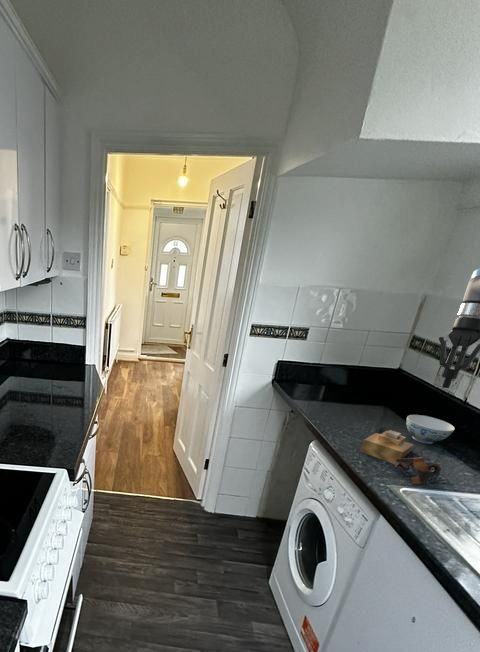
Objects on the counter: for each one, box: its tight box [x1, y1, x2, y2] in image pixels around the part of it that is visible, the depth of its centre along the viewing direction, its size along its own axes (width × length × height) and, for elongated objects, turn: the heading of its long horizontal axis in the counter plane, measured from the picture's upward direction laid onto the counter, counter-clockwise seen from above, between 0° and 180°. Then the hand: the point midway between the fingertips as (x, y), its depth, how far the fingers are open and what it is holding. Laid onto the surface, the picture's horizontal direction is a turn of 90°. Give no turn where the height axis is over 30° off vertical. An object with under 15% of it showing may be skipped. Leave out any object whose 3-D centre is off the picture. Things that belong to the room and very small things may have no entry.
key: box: [385, 429, 402, 439], centre depth 146 cm, size 4×4×2 cm
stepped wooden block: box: [359, 430, 414, 465], centre depth 146 cm, size 12×11×7 cm
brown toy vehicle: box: [393, 456, 442, 485], centre depth 132 cm, size 12×10×8 cm
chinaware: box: [406, 414, 455, 445], centre depth 161 cm, size 15×15×8 cm
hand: (445, 387), depth 143 cm, fingers closed
